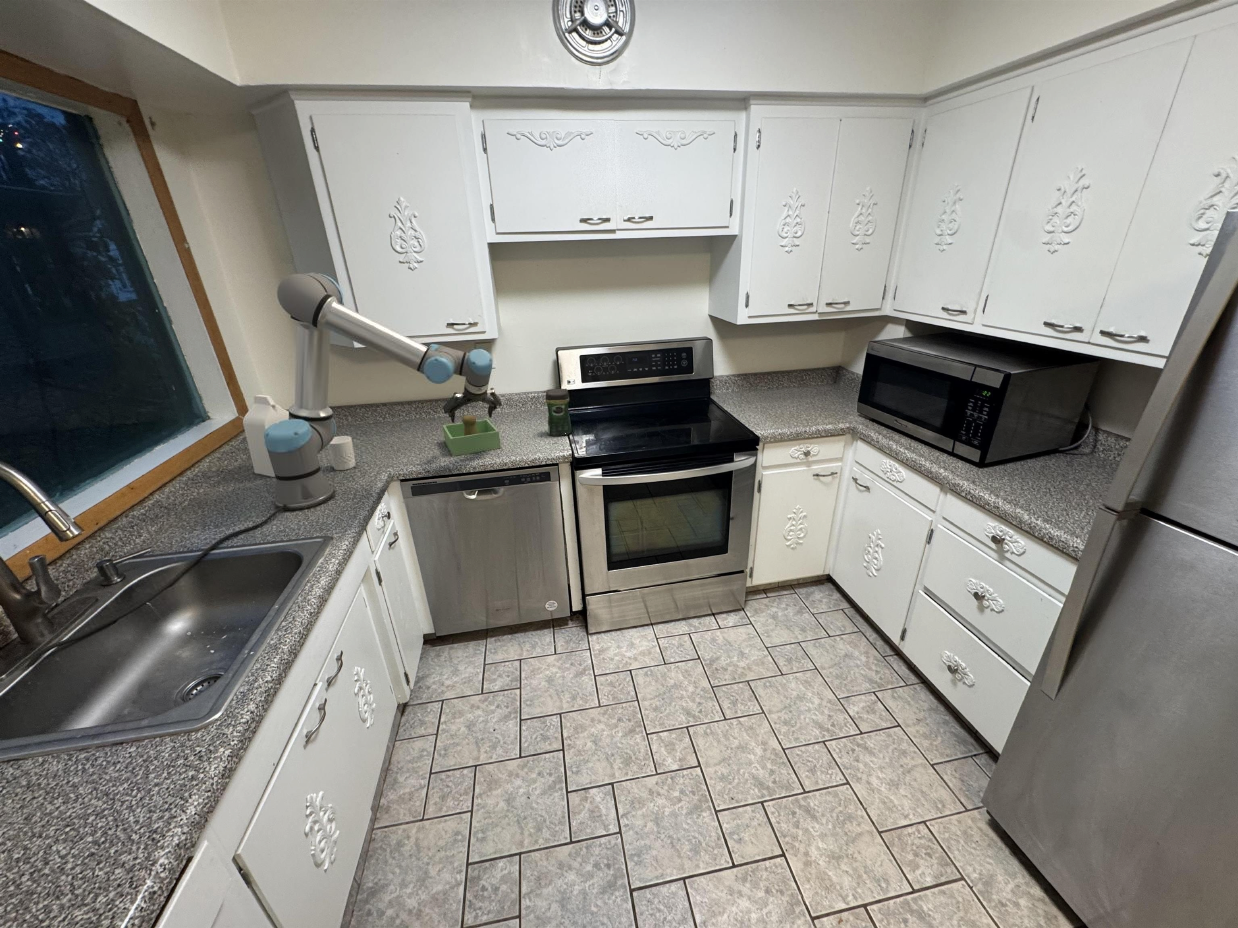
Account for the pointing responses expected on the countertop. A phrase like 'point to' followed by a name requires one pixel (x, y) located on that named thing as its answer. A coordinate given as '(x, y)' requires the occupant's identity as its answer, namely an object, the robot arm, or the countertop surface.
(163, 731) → the countertop surface
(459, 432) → the box
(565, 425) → the coffee jar
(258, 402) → the milk
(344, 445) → the white cup
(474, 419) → the cork
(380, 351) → the robot arm
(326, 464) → the countertop surface
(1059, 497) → the countertop surface
